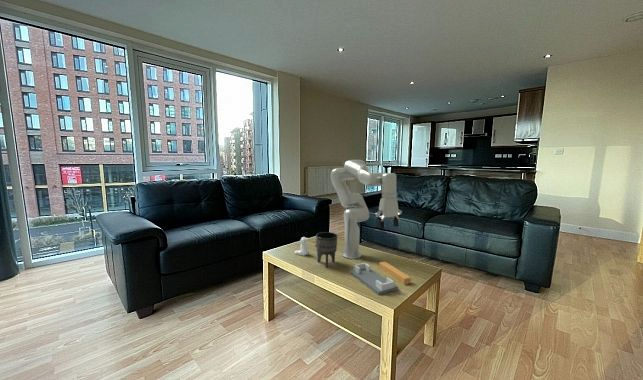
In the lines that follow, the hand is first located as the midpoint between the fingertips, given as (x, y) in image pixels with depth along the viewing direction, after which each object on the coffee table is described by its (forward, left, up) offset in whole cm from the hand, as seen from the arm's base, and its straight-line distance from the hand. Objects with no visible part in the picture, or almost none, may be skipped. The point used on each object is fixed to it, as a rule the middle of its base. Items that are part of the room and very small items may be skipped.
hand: (388, 227), depth 140 cm
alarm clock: (-56, -12, -27) cm, 63 cm away
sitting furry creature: (-46, -32, -27) cm, 62 cm away
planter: (-26, -25, -27) cm, 45 cm away
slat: (+3, +2, -27) cm, 27 cm away
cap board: (+4, -13, -26) cm, 29 cm away
